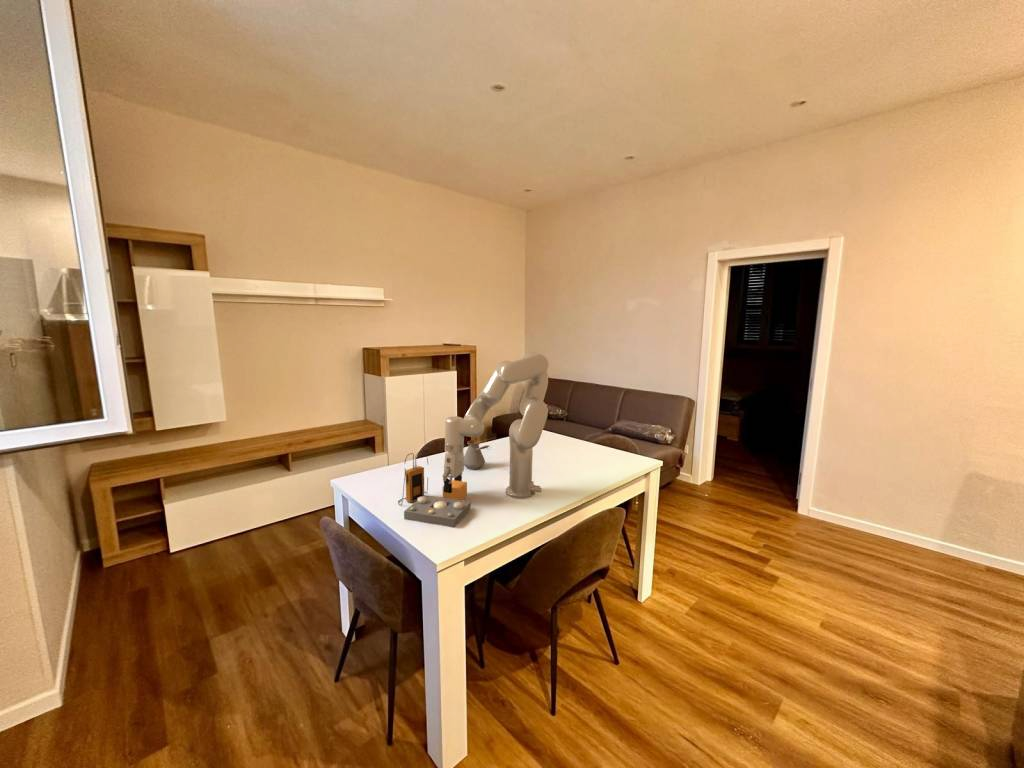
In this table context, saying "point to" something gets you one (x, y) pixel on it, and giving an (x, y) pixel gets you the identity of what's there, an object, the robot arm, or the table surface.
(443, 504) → the button
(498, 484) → the table surface
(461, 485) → the orange block
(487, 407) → the robot arm
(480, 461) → the coffee pot
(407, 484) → the multimeter
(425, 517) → the grey flat block
